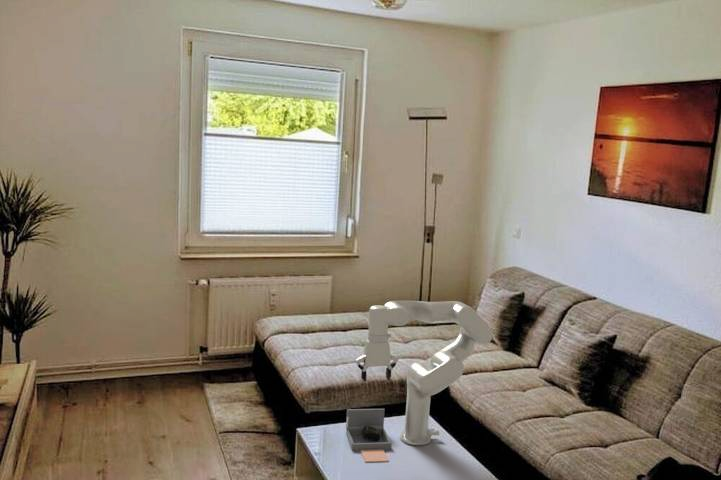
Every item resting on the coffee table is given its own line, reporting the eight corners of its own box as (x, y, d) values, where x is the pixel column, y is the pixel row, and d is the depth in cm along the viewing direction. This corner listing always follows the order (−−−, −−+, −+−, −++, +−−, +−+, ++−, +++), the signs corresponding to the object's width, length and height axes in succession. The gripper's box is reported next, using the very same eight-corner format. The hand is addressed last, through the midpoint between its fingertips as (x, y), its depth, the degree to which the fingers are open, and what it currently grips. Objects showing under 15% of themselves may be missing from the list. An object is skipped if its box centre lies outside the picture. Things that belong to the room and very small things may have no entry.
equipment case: (382, 432, 253) (384, 408, 252) (391, 449, 239) (392, 423, 238) (345, 433, 250) (347, 409, 249) (352, 450, 236) (353, 424, 235)
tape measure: (362, 439, 242) (365, 431, 242) (359, 432, 249) (362, 423, 249) (378, 444, 244) (381, 435, 244) (375, 436, 250) (378, 427, 250)
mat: (383, 450, 238) (383, 449, 238) (388, 461, 229) (388, 460, 229) (360, 451, 236) (360, 450, 236) (365, 462, 227) (365, 461, 227)
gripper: (396, 333, 243) (394, 375, 245) (353, 335, 238) (352, 377, 241) (402, 339, 236) (400, 381, 238) (358, 341, 231) (357, 384, 233)
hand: (376, 379), depth 239 cm, fingers open, 9 cm apart
